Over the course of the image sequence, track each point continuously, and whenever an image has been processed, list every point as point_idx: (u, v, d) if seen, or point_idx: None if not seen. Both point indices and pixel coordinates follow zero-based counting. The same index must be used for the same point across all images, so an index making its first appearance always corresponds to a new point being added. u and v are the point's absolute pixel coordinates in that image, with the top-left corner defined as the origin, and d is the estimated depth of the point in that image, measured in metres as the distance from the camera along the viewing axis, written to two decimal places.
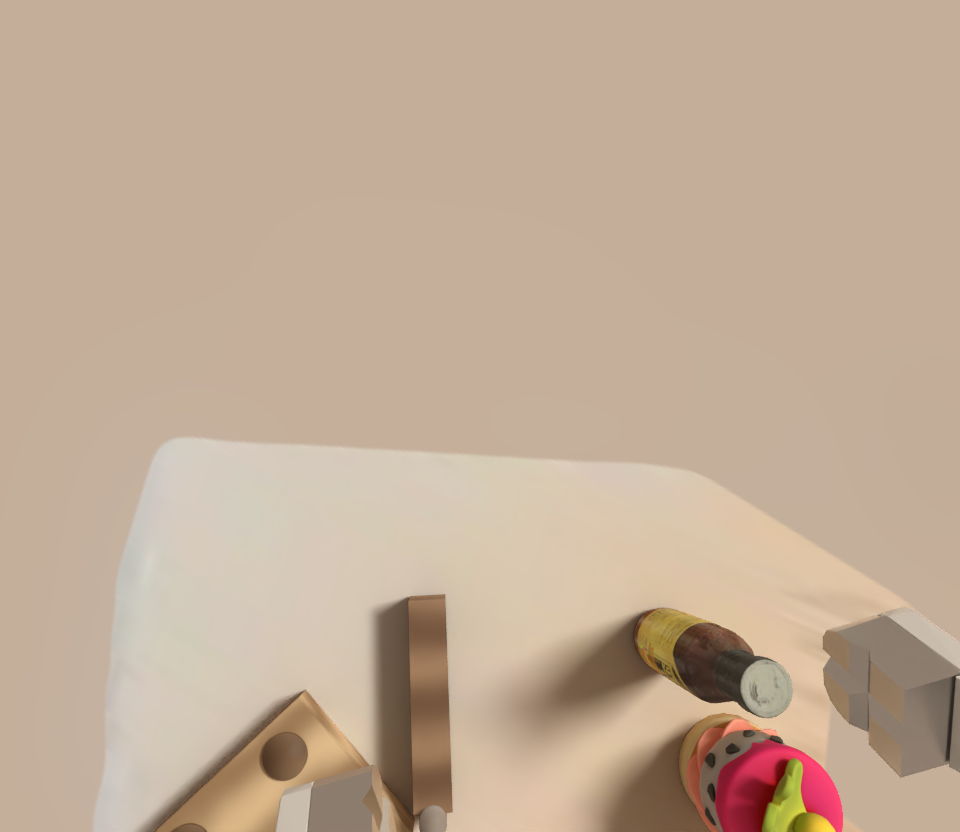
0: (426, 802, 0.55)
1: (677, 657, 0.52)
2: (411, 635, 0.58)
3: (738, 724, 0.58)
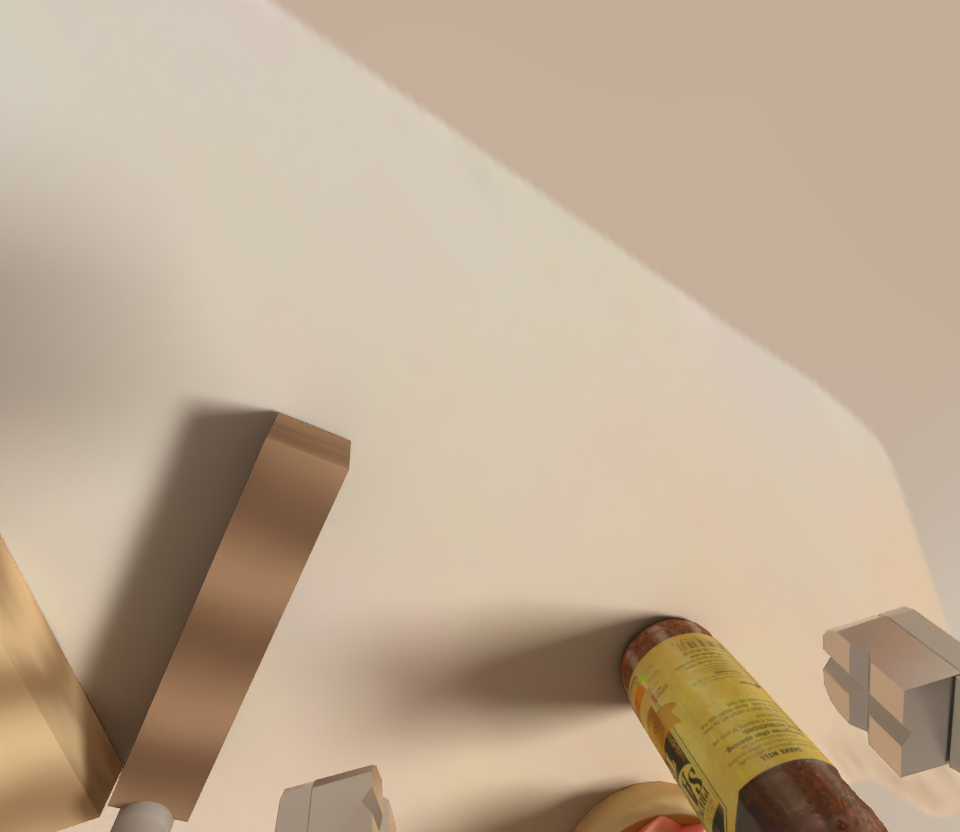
0: (143, 794, 0.28)
1: (750, 810, 0.25)
2: (242, 509, 0.25)
3: None
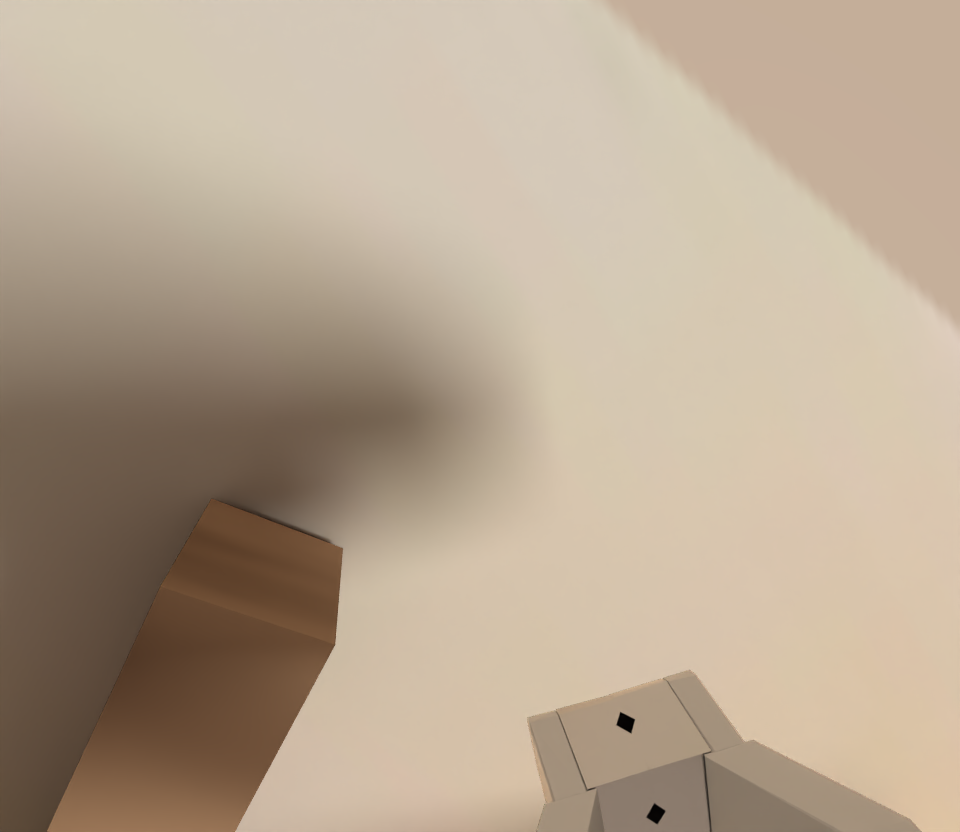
0: None
1: None
2: (113, 722, 0.12)
3: None
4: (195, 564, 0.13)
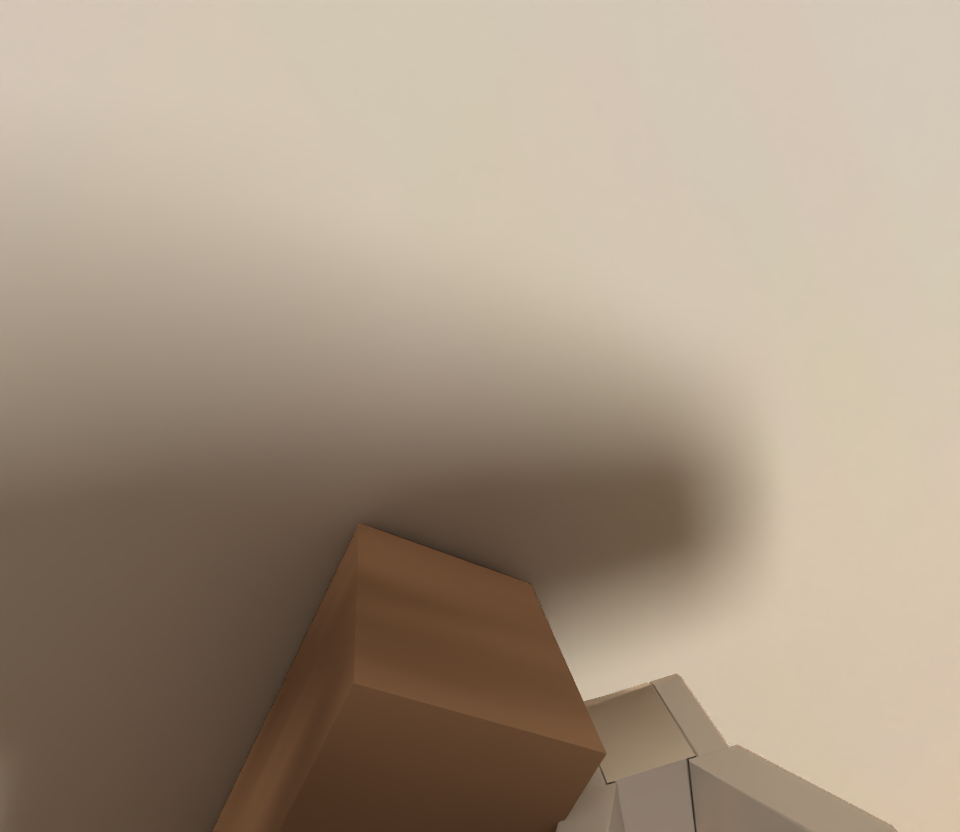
0: None
1: None
2: None
3: None
4: (382, 634, 0.08)
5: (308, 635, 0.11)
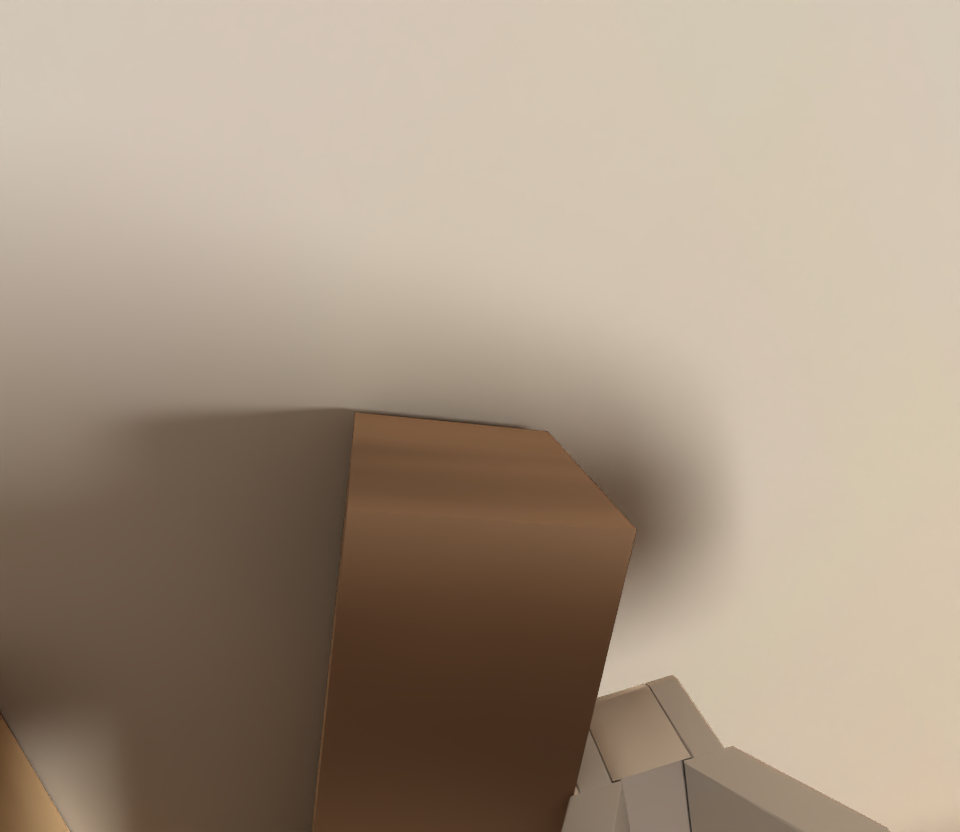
0: None
1: None
2: (344, 743, 0.08)
3: None
4: (379, 477, 0.08)
5: (342, 536, 0.11)
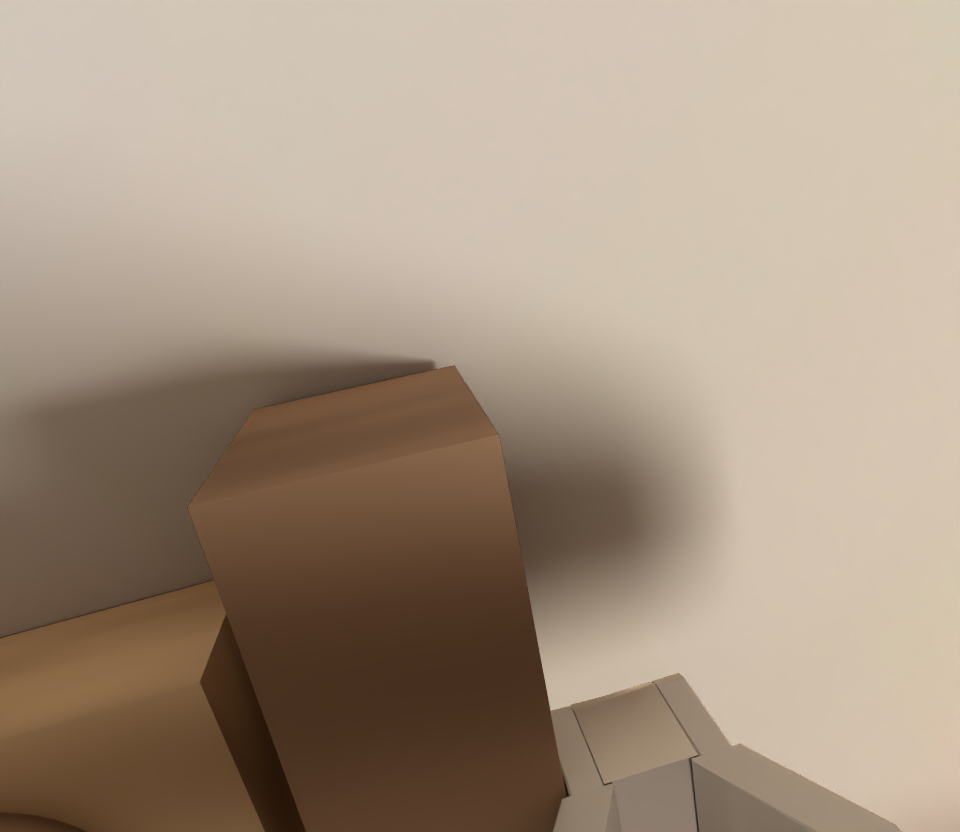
0: None
1: None
2: (292, 729, 0.08)
3: None
4: (241, 464, 0.08)
5: None
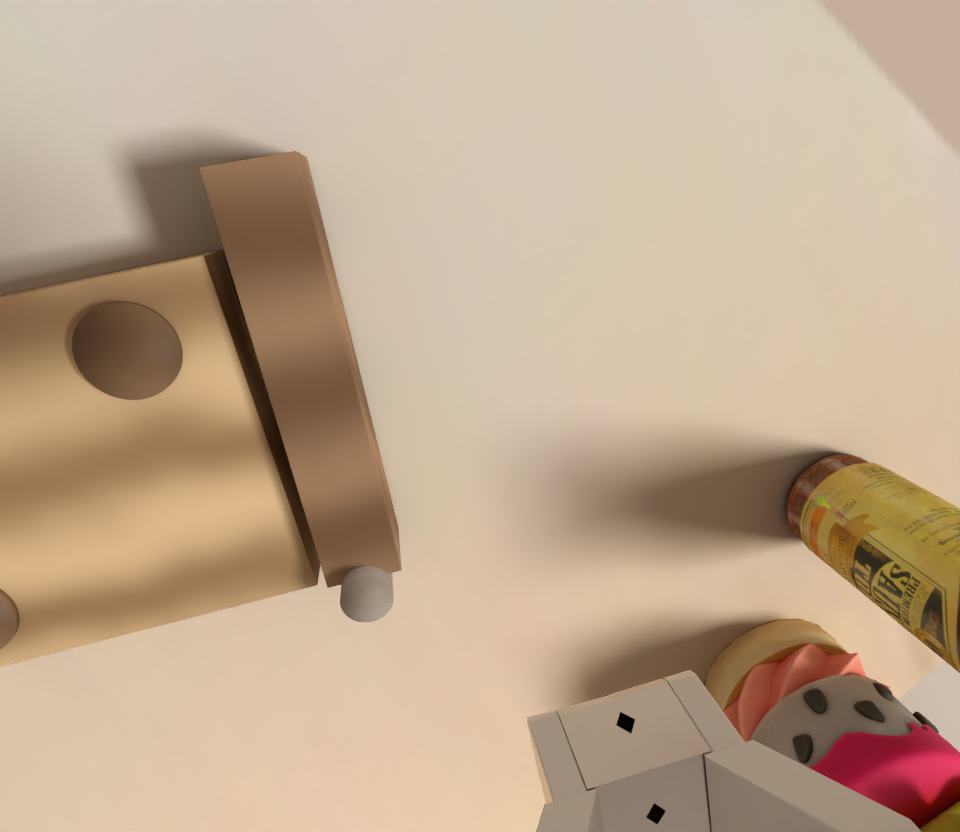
0: (348, 564, 0.29)
1: None
2: (233, 255, 0.23)
3: (859, 663, 0.37)
4: None
5: None
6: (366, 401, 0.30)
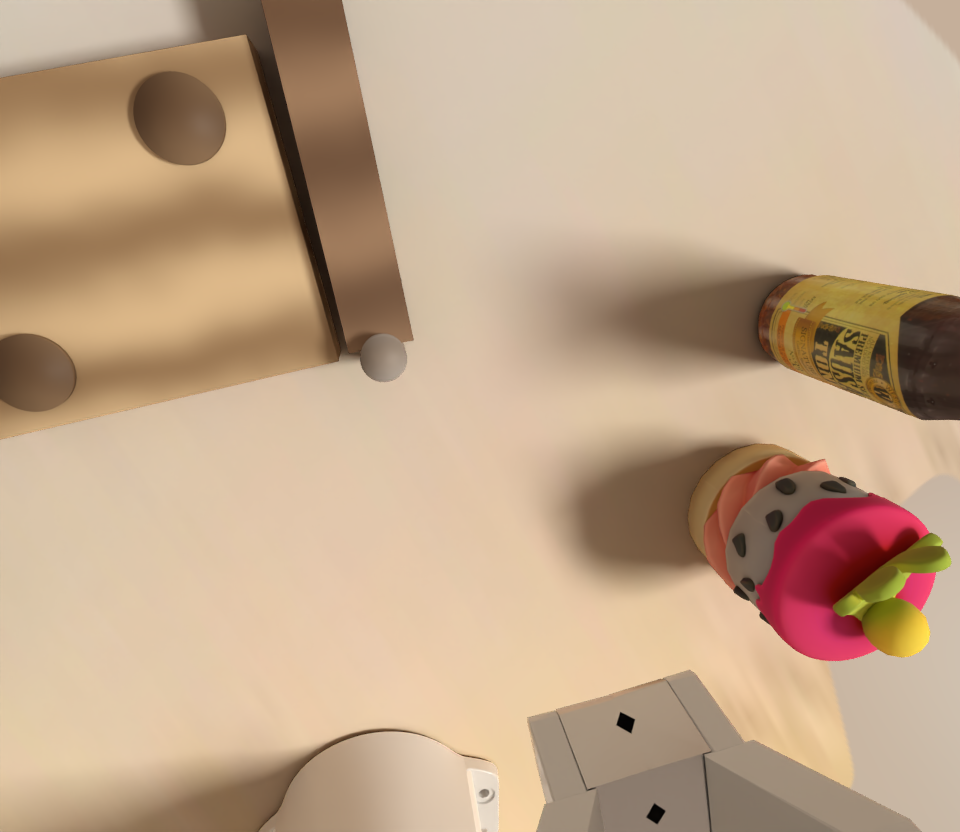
0: (367, 331, 0.33)
1: (913, 323, 0.30)
2: (273, 24, 0.28)
3: (826, 468, 0.41)
4: None
5: None
6: None
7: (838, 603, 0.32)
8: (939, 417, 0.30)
